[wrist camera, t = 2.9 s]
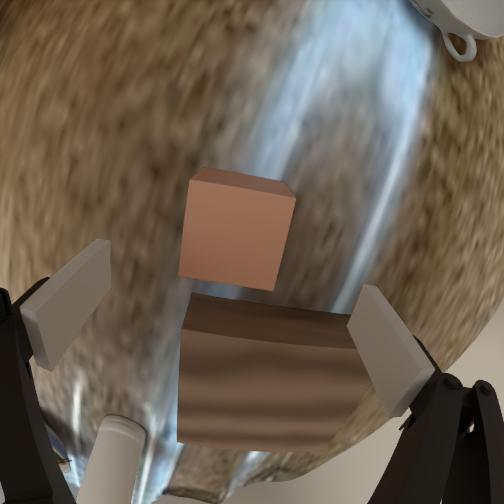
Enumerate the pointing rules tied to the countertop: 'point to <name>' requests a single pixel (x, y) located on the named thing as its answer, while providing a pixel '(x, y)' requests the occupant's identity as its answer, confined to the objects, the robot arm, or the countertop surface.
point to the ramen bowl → (58, 450)
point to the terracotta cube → (235, 228)
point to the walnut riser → (265, 376)
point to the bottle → (113, 463)
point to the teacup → (464, 21)
